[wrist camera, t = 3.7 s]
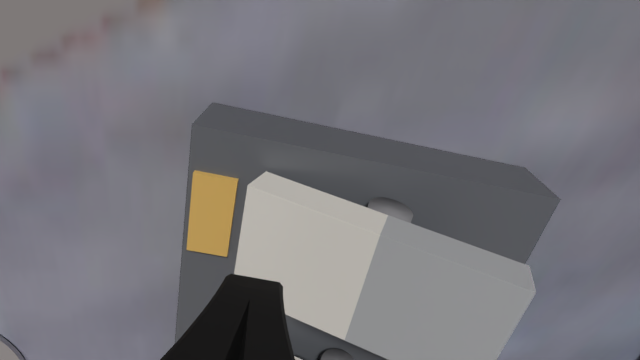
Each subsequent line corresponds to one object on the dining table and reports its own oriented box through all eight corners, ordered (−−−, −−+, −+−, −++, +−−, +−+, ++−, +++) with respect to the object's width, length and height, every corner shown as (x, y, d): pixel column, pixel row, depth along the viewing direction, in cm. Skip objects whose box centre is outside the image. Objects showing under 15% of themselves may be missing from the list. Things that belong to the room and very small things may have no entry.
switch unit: (525, 168, 15) (564, 202, 13) (380, 464, 24) (387, 518, 21) (212, 102, 14) (190, 126, 12) (179, 438, 23) (162, 491, 20)
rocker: (523, 241, 12) (536, 292, 10) (473, 335, 14) (474, 397, 11) (283, 158, 14) (247, 185, 11) (265, 251, 15) (231, 290, 13)
